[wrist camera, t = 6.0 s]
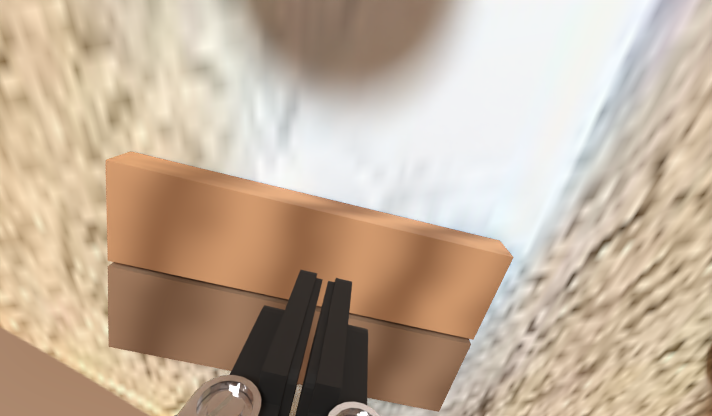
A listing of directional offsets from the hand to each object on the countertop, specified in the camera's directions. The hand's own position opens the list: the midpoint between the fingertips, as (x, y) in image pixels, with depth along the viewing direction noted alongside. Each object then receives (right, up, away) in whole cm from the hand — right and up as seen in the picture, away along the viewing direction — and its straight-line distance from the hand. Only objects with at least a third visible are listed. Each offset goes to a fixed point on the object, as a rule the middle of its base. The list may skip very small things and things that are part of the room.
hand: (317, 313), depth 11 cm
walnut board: (-3, -5, +12) cm, 14 cm away
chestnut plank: (-1, +1, +10) cm, 10 cm away
